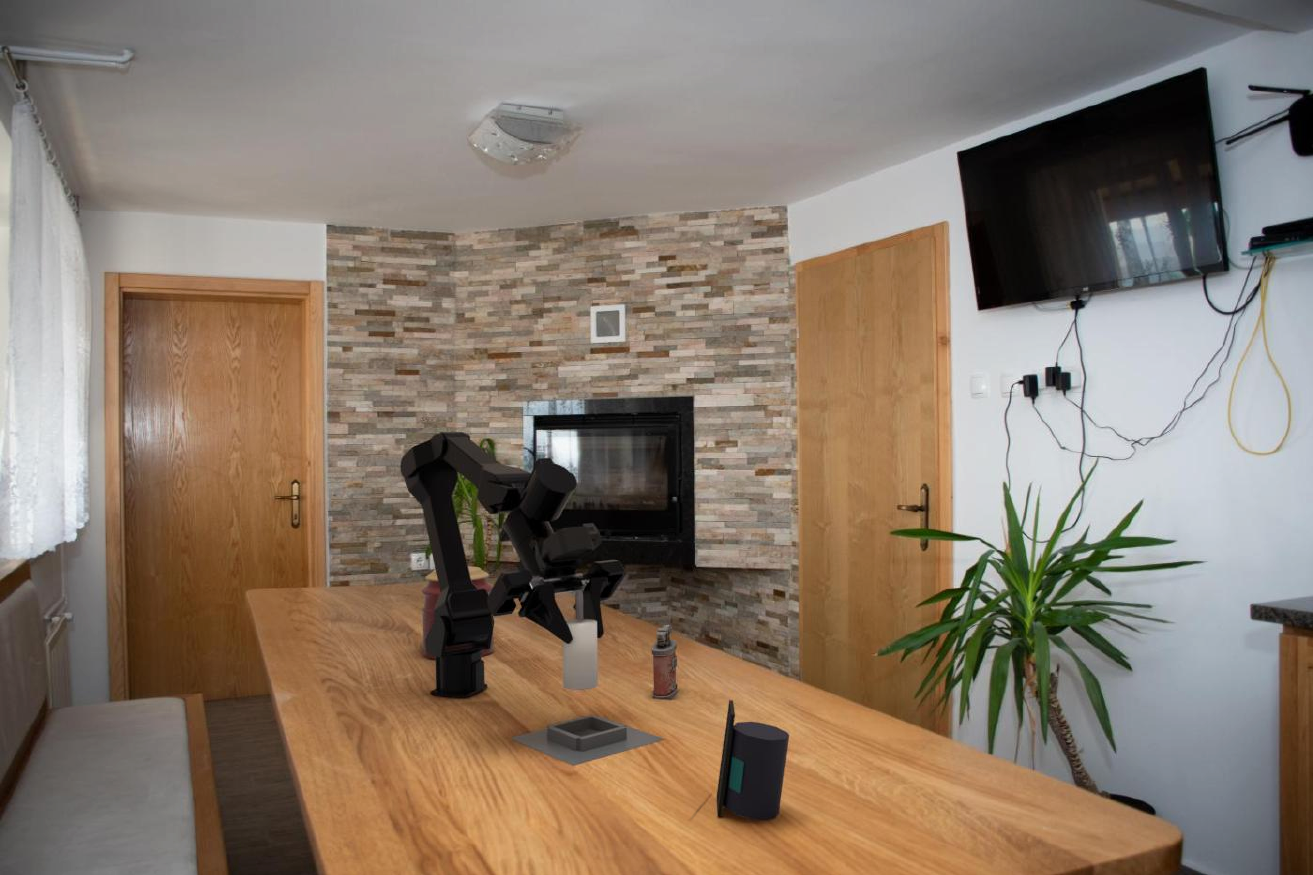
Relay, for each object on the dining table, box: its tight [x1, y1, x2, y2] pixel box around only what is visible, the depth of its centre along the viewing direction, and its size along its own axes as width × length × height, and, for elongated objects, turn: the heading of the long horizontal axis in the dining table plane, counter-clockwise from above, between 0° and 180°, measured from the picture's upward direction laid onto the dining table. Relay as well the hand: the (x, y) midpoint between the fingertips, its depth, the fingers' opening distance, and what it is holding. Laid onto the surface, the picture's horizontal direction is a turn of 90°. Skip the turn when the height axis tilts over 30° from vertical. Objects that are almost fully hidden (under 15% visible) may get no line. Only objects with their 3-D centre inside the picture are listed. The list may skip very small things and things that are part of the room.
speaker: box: [716, 699, 790, 821], centre depth 94 cm, size 8×6×10 cm
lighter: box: [651, 624, 678, 701], centre depth 139 cm, size 8×3×10 cm, turn 168°
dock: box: [509, 714, 666, 767], centre depth 117 cm, size 14×14×2 cm
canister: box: [420, 565, 495, 660], centre depth 171 cm, size 13×13×18 cm
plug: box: [561, 591, 599, 691], centre depth 118 cm, size 4×4×12 cm
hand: (586, 639), depth 117 cm, fingers closed on plug, 4 cm apart
